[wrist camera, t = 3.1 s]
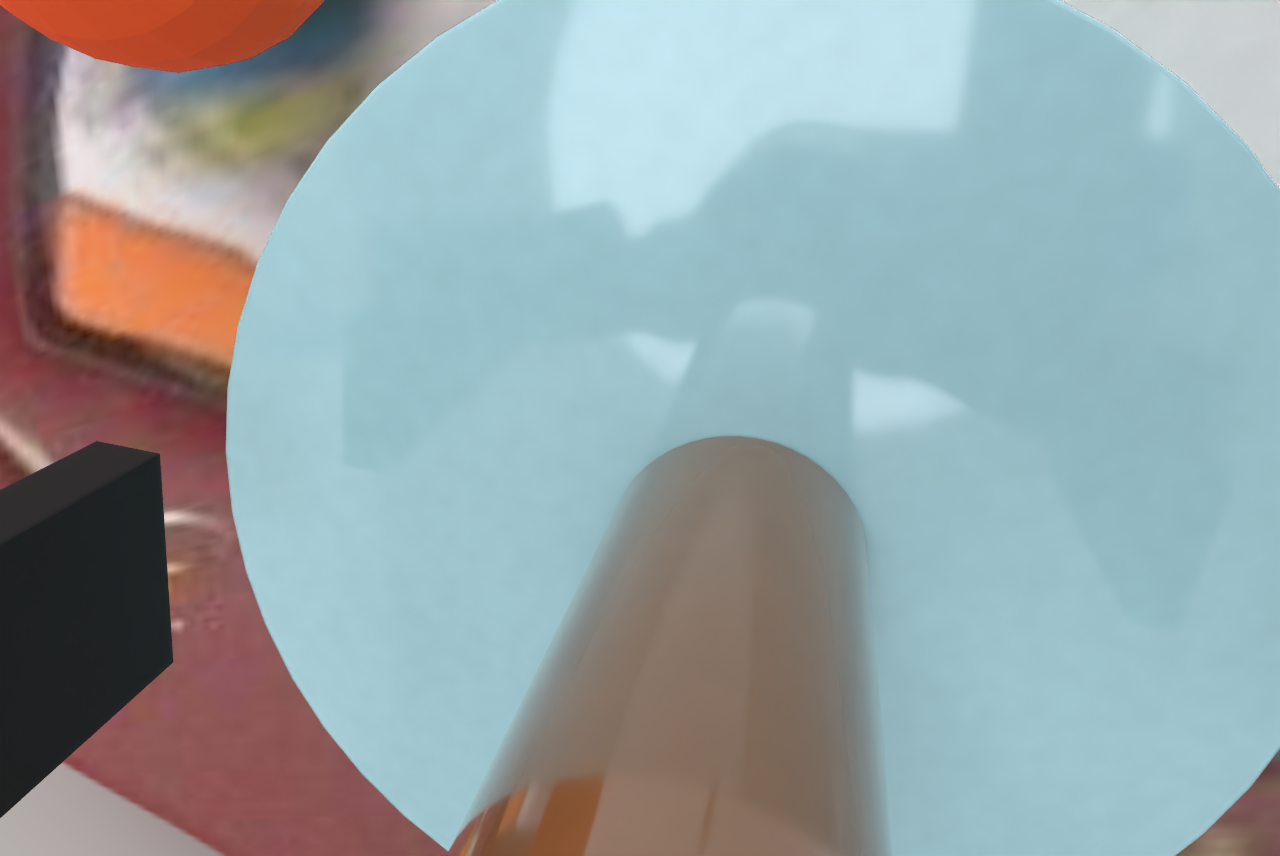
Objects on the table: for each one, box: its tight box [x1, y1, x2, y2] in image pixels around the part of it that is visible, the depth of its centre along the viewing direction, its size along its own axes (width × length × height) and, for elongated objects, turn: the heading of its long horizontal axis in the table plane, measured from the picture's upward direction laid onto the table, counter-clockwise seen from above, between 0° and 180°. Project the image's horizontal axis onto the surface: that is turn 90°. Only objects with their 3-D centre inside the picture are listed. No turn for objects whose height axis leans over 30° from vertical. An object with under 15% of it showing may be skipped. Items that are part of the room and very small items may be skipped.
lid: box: [226, 0, 1280, 856], centre depth 10 cm, size 15×15×9 cm
